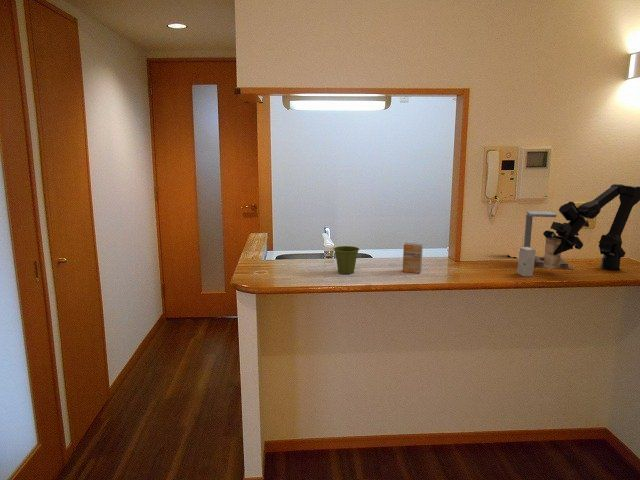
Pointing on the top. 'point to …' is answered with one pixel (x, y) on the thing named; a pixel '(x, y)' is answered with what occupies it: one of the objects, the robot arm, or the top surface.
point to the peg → (549, 258)
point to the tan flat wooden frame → (540, 264)
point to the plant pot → (346, 258)
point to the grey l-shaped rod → (529, 223)
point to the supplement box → (412, 258)
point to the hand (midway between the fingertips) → (550, 253)
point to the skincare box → (526, 261)
